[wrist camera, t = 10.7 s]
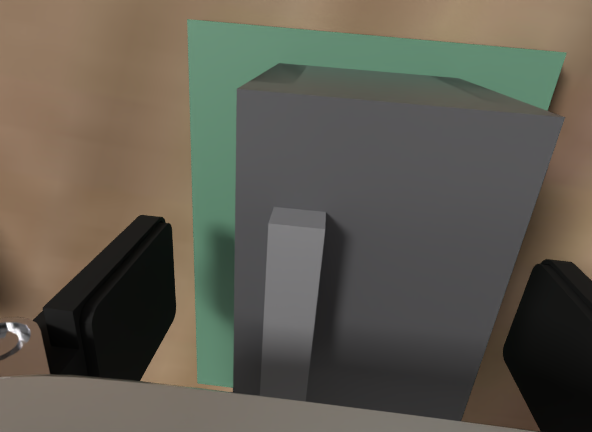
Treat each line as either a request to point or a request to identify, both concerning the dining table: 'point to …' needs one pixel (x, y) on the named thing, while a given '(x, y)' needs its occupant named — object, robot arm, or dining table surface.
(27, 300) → the dining table surface
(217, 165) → the header
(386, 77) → the plug
